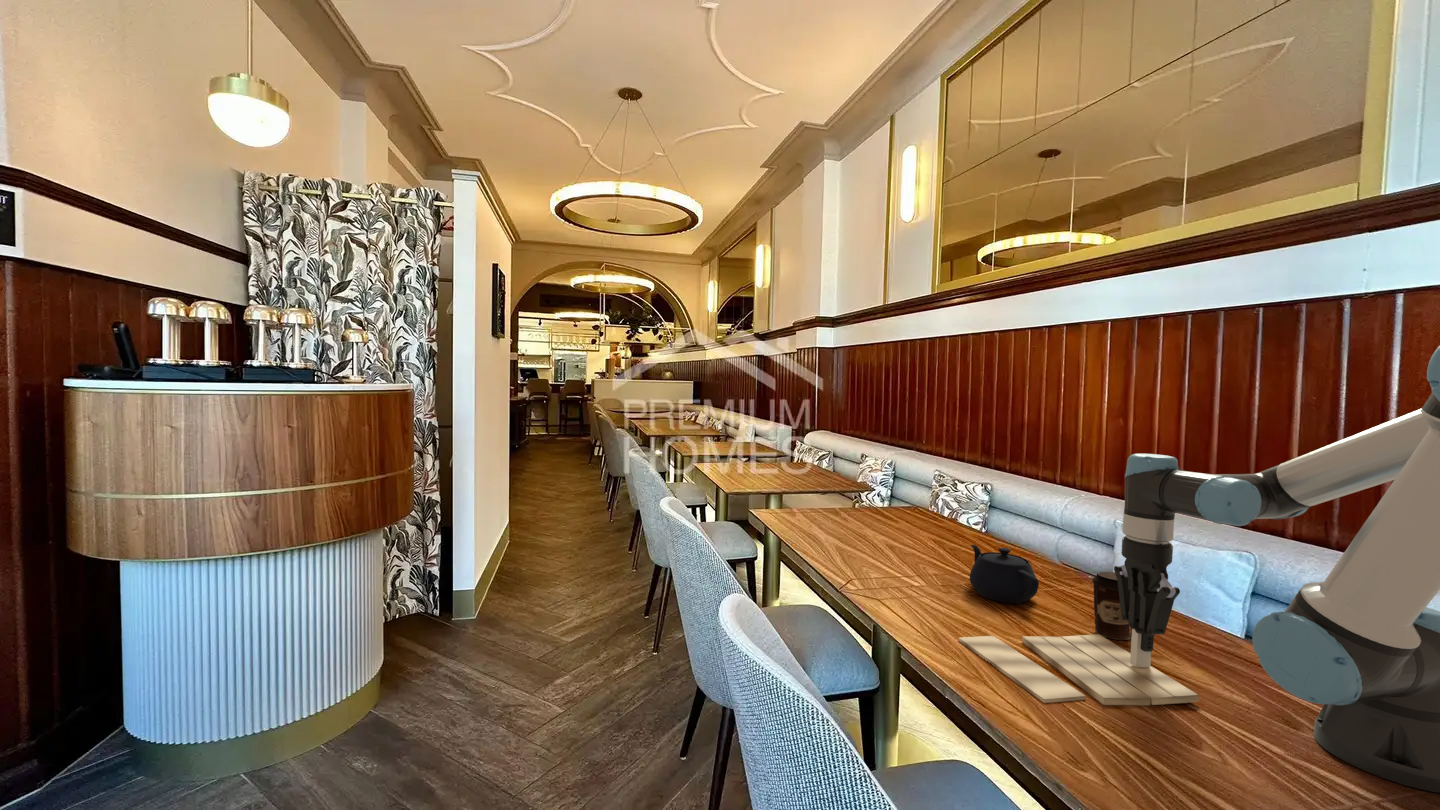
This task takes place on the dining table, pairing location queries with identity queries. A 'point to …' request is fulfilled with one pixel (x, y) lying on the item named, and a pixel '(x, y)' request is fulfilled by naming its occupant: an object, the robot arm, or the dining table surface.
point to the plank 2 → (1132, 670)
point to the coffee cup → (1108, 607)
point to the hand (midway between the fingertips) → (1140, 665)
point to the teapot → (1003, 576)
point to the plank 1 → (1022, 670)
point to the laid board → (1086, 671)
